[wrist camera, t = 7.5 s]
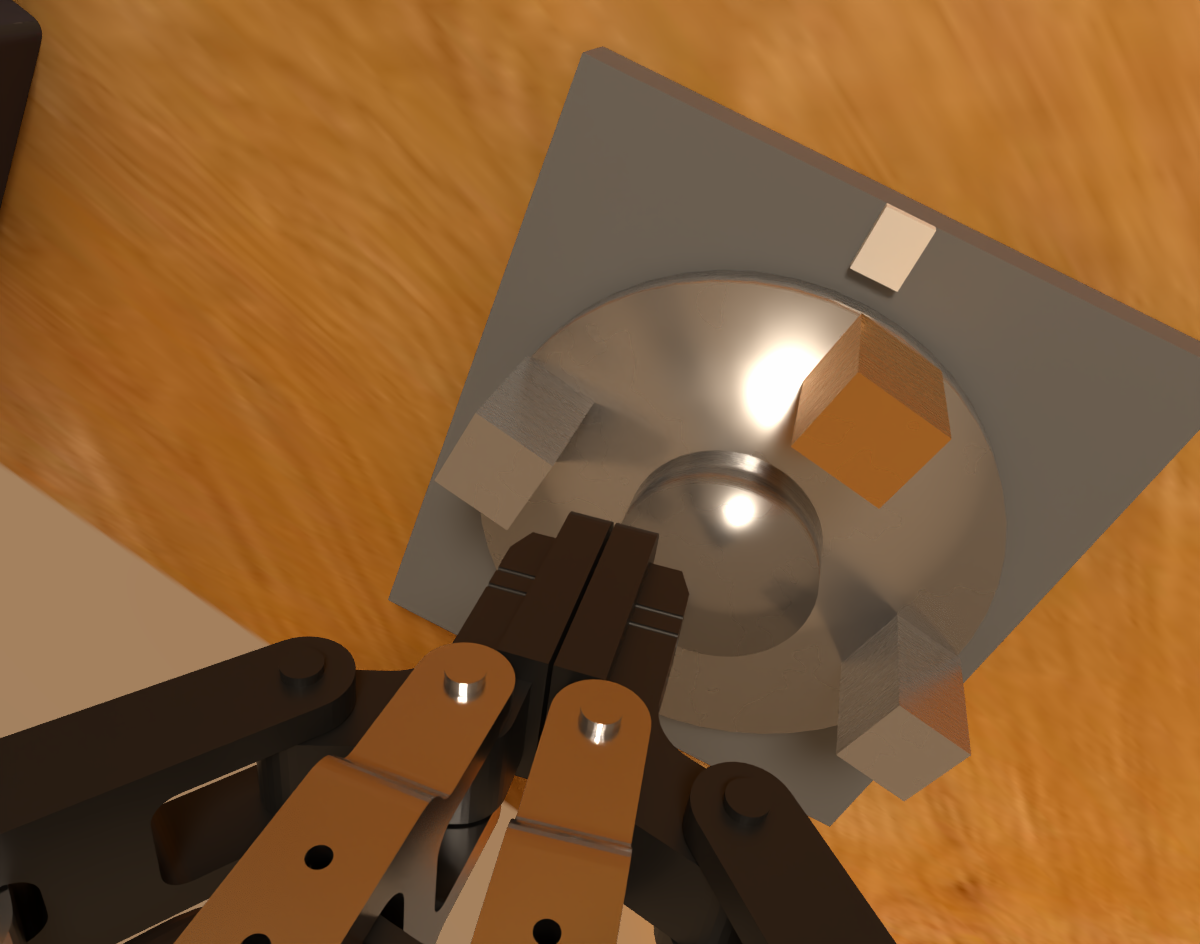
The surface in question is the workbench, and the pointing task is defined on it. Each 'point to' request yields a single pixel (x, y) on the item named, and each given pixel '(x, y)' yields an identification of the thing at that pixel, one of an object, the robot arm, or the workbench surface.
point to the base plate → (853, 268)
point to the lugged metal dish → (767, 502)
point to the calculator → (14, 76)
